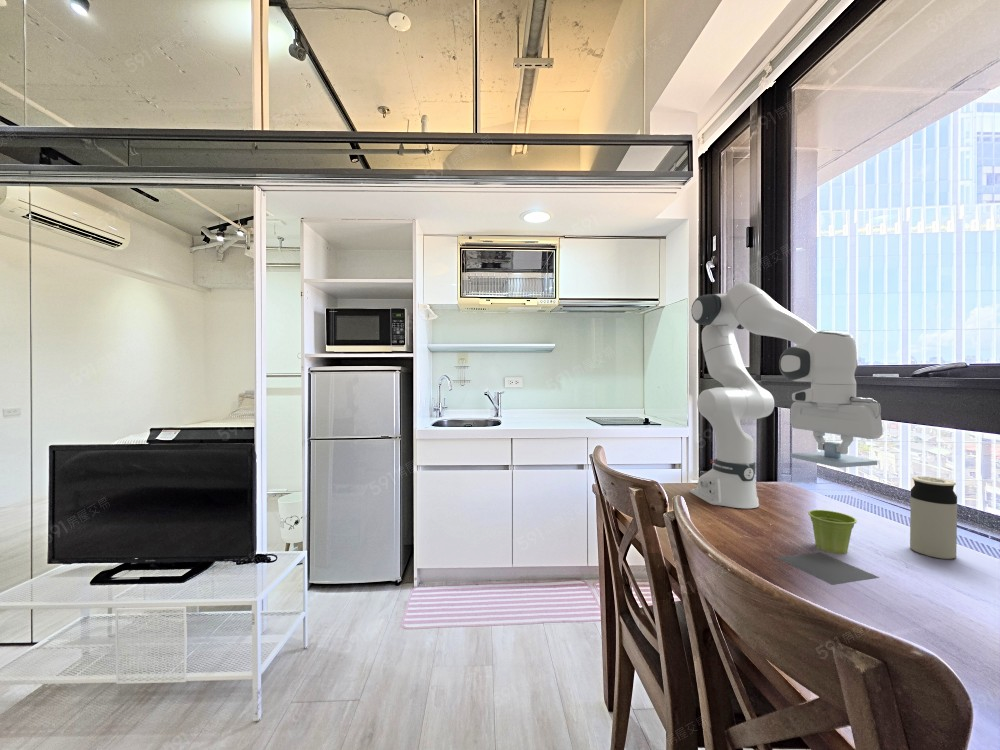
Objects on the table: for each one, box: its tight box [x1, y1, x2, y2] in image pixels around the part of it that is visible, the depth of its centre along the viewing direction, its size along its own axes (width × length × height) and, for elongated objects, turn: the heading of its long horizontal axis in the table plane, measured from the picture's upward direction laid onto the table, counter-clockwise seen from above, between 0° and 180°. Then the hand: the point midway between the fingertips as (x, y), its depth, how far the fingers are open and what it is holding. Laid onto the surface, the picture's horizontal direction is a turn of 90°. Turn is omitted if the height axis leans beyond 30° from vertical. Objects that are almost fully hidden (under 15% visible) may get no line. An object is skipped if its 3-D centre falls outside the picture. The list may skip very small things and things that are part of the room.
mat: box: [777, 551, 880, 586], centre depth 95 cm, size 13×13×1 cm
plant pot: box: [808, 509, 858, 555], centre depth 105 cm, size 9×9×9 cm
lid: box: [790, 441, 878, 469], centre depth 105 cm, size 12×12×4 cm
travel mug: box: [909, 475, 958, 560], centre depth 104 cm, size 8×8×18 cm
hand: (832, 451), depth 105 cm, fingers closed on lid, 3 cm apart
